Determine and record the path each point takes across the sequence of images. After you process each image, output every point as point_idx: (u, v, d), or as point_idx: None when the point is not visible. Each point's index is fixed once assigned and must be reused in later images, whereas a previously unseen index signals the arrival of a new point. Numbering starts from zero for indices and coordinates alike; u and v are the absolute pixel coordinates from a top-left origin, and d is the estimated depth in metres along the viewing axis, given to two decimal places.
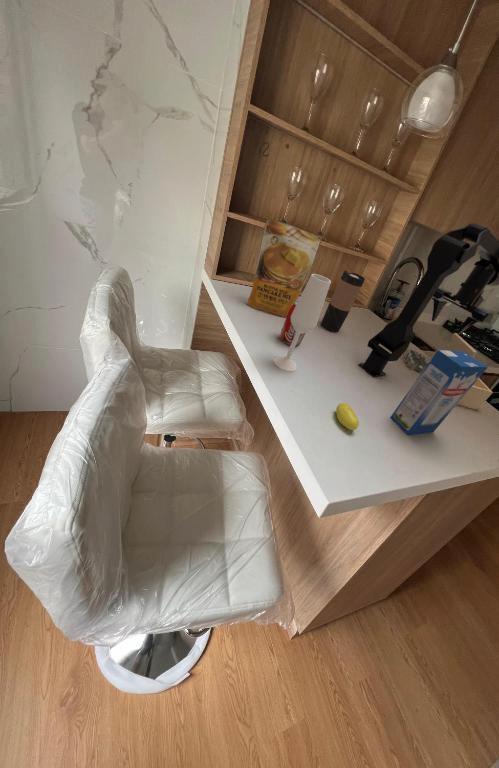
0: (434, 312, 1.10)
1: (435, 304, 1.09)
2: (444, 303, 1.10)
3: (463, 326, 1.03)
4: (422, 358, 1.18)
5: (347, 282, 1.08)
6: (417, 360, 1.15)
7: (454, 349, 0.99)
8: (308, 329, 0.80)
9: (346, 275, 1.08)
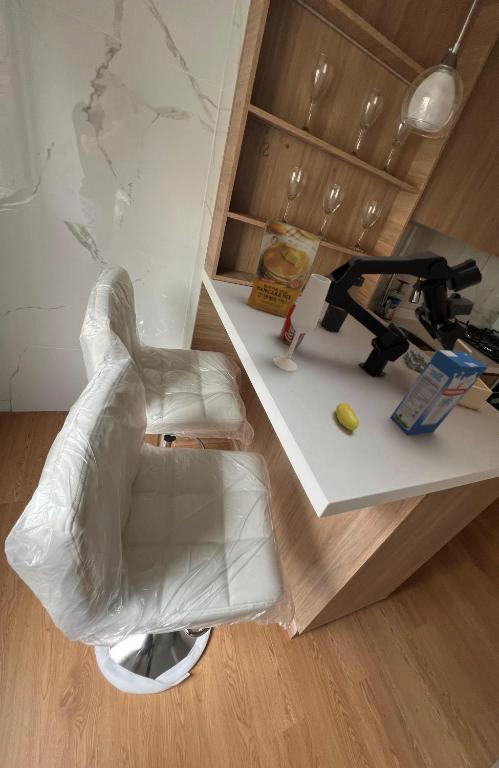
0: (427, 331, 0.99)
1: (422, 325, 0.99)
2: None
3: (442, 346, 0.90)
4: (421, 357, 1.18)
5: None
6: (417, 360, 1.15)
7: None
8: (308, 329, 0.80)
9: None
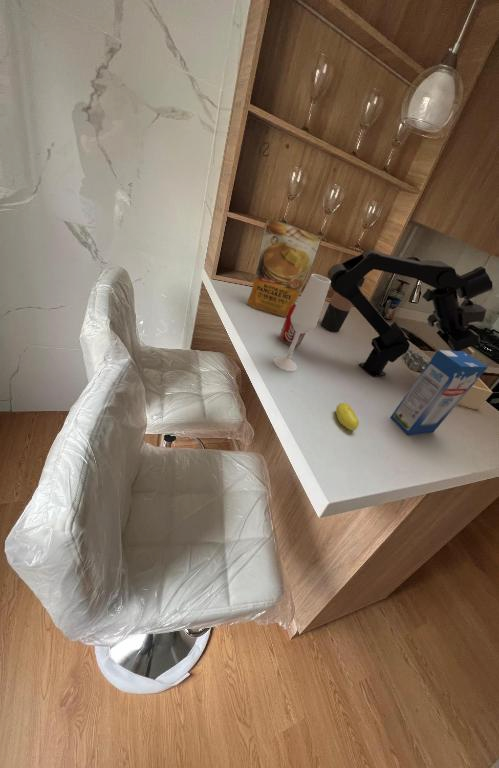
0: None
1: (441, 338, 0.96)
2: None
3: (449, 346, 0.94)
4: (419, 356, 1.18)
5: None
6: (416, 360, 1.15)
7: None
8: (308, 329, 0.80)
9: None
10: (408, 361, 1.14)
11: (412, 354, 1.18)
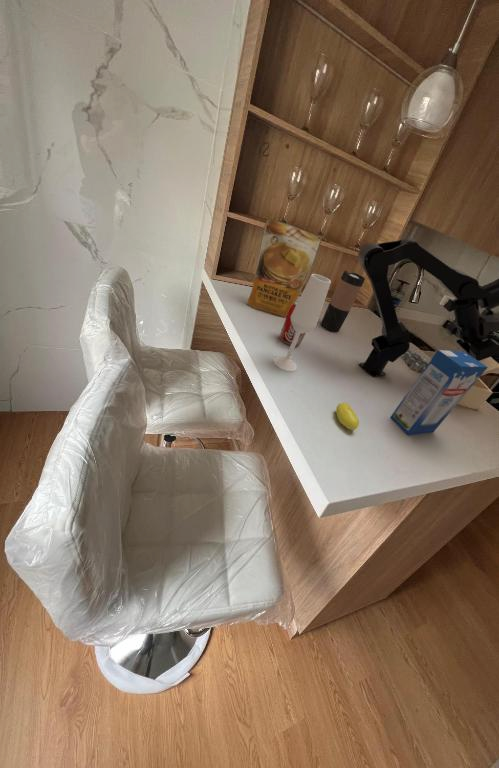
0: None
1: (461, 347, 0.97)
2: None
3: None
4: (417, 356, 1.19)
5: (347, 282, 1.08)
6: (416, 360, 1.15)
7: None
8: (308, 329, 0.80)
9: (346, 275, 1.08)
10: (408, 362, 1.14)
11: (411, 354, 1.18)
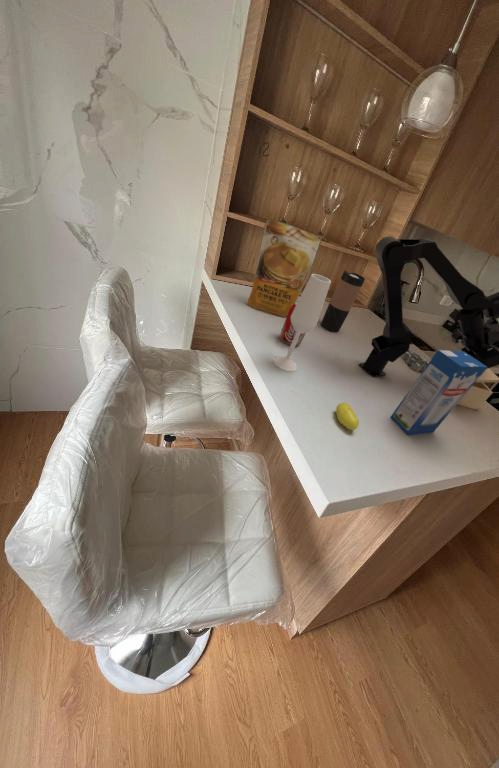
0: None
1: None
2: None
3: None
4: (417, 355, 1.19)
5: (347, 282, 1.08)
6: (416, 360, 1.15)
7: None
8: (308, 329, 0.80)
9: (346, 275, 1.08)
10: (409, 362, 1.14)
11: (410, 354, 1.18)
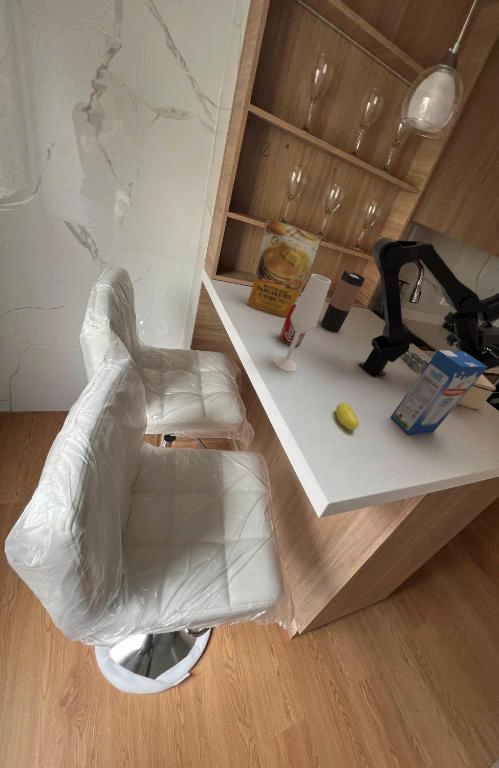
0: None
1: None
2: None
3: None
4: (415, 355, 1.19)
5: (347, 282, 1.08)
6: (416, 360, 1.15)
7: None
8: (308, 329, 0.80)
9: (346, 275, 1.08)
10: (409, 362, 1.14)
11: (409, 353, 1.17)
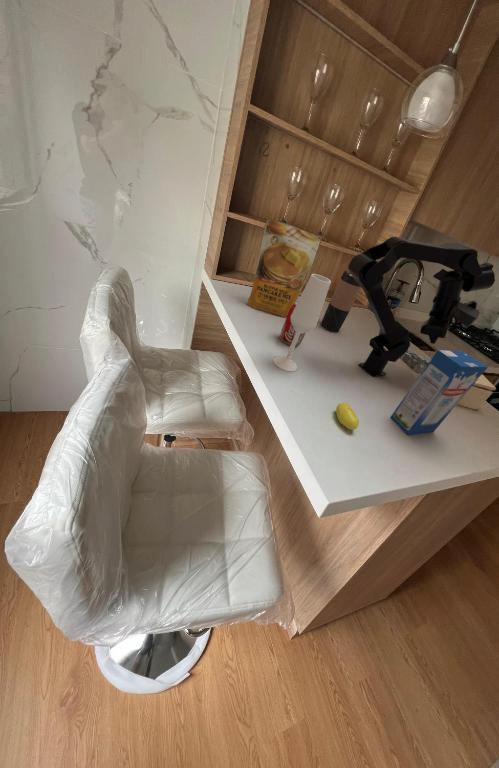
0: None
1: None
2: None
3: None
4: (413, 354, 1.19)
5: (347, 282, 1.08)
6: (416, 360, 1.15)
7: None
8: (308, 329, 0.80)
9: (346, 275, 1.08)
10: (410, 363, 1.13)
11: (408, 353, 1.17)
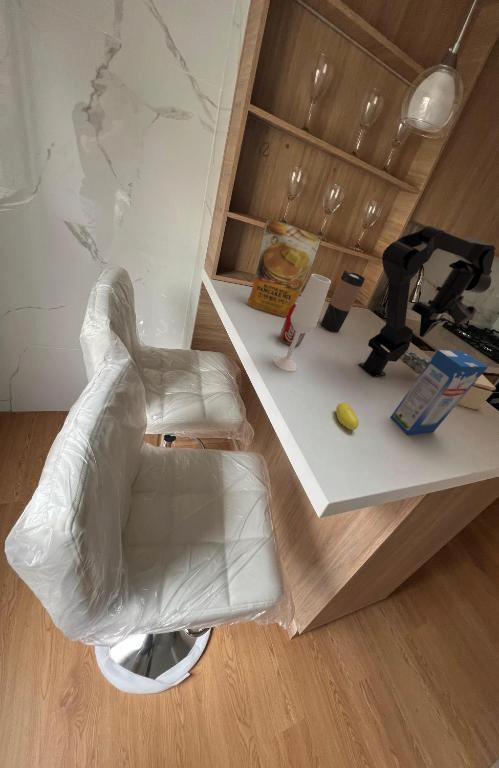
0: None
1: None
2: None
3: None
4: (412, 353, 1.19)
5: (347, 282, 1.08)
6: (415, 360, 1.15)
7: None
8: (308, 329, 0.80)
9: (346, 275, 1.08)
10: (411, 364, 1.13)
11: (407, 353, 1.17)
